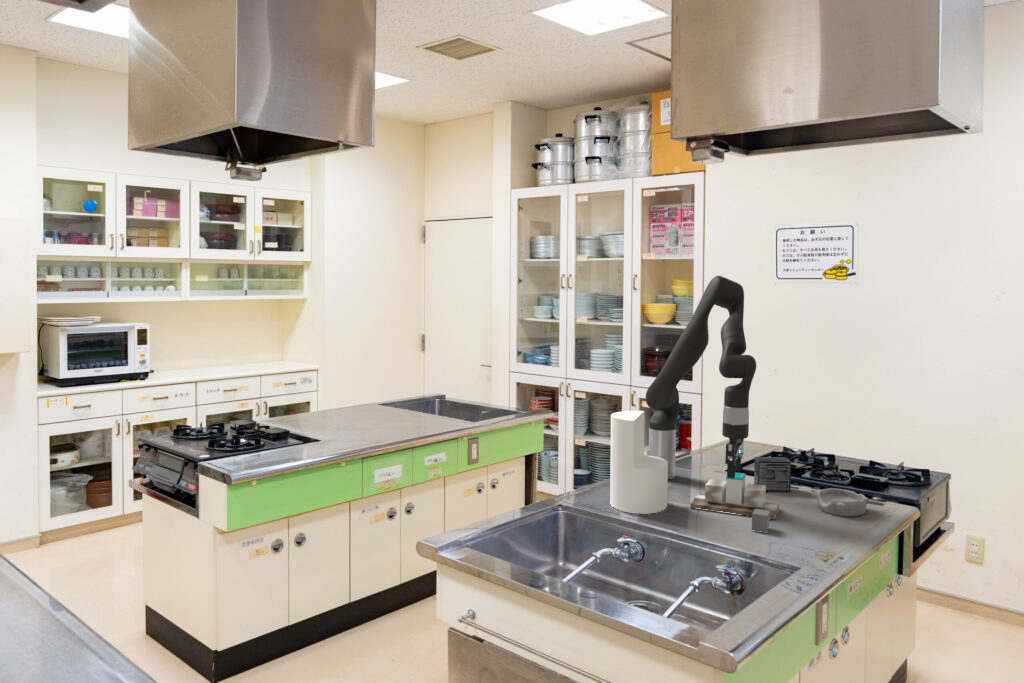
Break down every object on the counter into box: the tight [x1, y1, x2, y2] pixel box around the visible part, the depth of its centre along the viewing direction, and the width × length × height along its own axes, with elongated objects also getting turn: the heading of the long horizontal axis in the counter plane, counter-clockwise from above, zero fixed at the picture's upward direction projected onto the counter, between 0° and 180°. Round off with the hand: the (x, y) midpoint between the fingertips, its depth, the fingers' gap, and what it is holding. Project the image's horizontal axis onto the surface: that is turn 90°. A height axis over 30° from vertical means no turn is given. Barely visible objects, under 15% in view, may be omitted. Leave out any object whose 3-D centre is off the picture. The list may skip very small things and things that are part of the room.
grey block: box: [751, 509, 771, 533], centre depth 209 cm, size 4×5×5 cm
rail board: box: [690, 478, 781, 520], centre depth 227 cm, size 24×12×7 cm, turn 63°
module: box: [725, 472, 746, 505], centre depth 227 cm, size 4×6×8 cm
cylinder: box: [609, 410, 668, 513], centre depth 230 cm, size 17×17×28 cm
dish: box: [817, 487, 869, 517], centre depth 226 cm, size 14×14×5 cm
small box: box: [753, 456, 792, 494], centre depth 247 cm, size 11×6×10 cm, turn 84°
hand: (733, 474), depth 227 cm, fingers open, 8 cm apart
